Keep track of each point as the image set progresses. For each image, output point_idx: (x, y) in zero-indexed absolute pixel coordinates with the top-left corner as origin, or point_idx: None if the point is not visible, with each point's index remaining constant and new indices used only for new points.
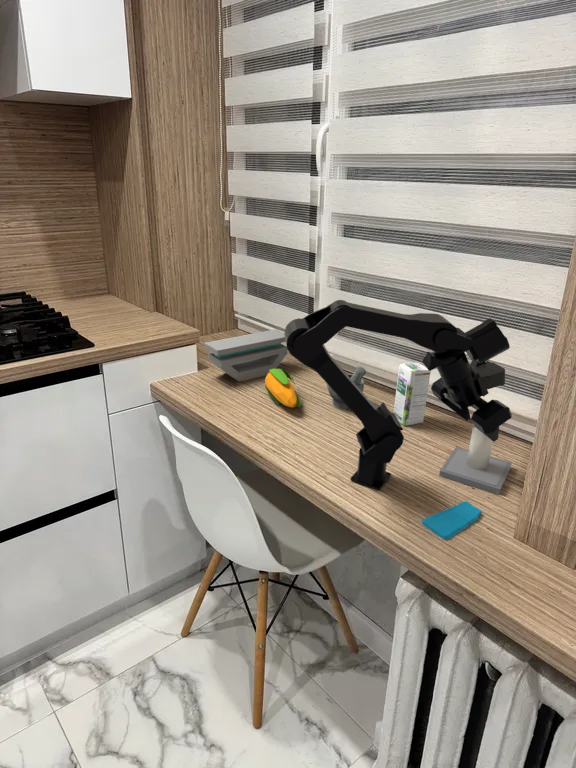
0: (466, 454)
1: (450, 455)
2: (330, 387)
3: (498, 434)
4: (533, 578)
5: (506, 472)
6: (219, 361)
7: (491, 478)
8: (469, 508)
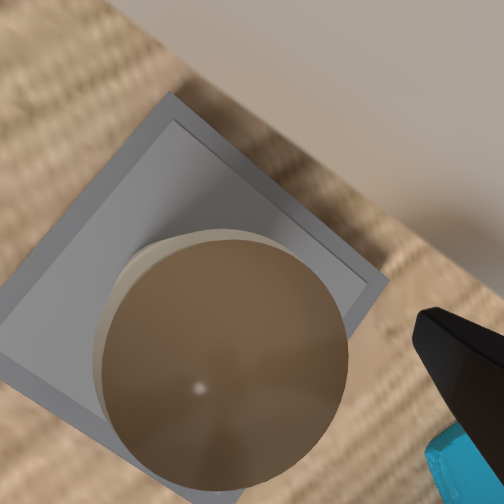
0: (62, 317)
1: (63, 418)
2: None
3: (496, 333)
4: None
5: (261, 175)
6: None
7: None
8: (476, 454)
